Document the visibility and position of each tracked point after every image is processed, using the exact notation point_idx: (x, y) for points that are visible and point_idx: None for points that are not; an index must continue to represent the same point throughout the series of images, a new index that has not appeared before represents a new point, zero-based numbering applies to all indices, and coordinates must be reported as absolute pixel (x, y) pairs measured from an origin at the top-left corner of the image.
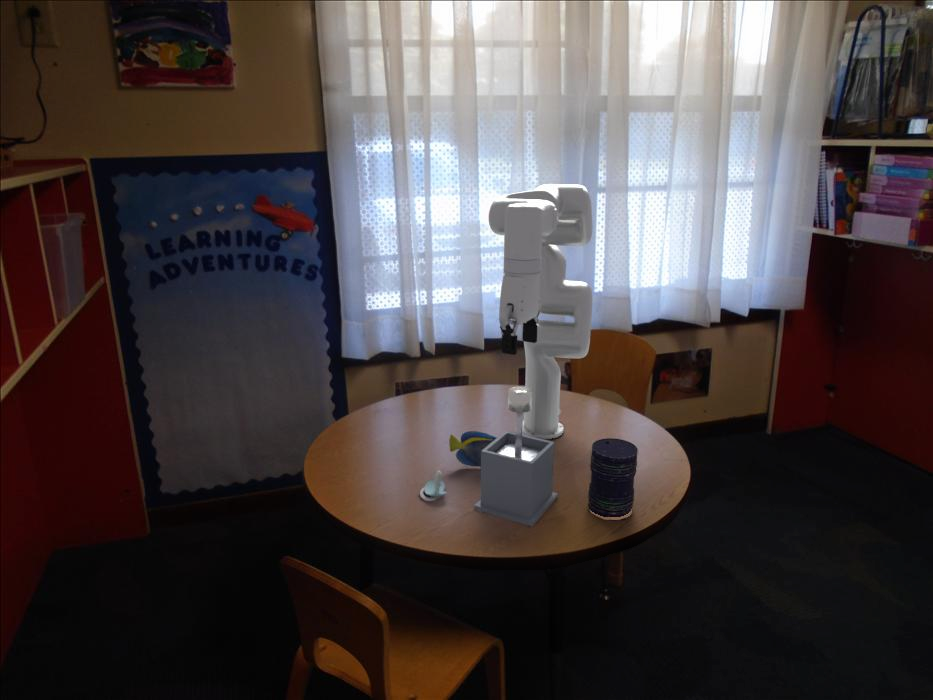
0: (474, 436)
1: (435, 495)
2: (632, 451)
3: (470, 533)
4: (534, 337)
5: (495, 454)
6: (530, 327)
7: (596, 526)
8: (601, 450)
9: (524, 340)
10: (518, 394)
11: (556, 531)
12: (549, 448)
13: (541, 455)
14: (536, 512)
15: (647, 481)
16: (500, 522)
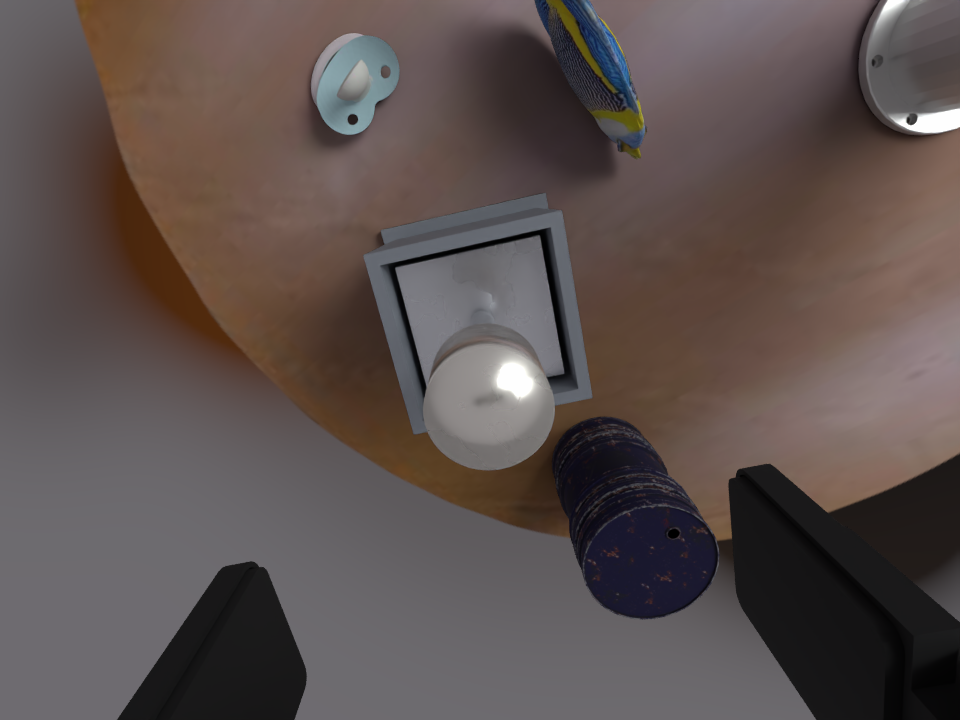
0: (581, 26)
1: (324, 119)
2: (662, 603)
3: (299, 295)
4: (767, 642)
5: (379, 310)
6: (851, 708)
7: (519, 475)
8: (612, 545)
9: (731, 499)
10: (437, 437)
11: None
12: None
13: None
14: None
15: (773, 461)
16: None
